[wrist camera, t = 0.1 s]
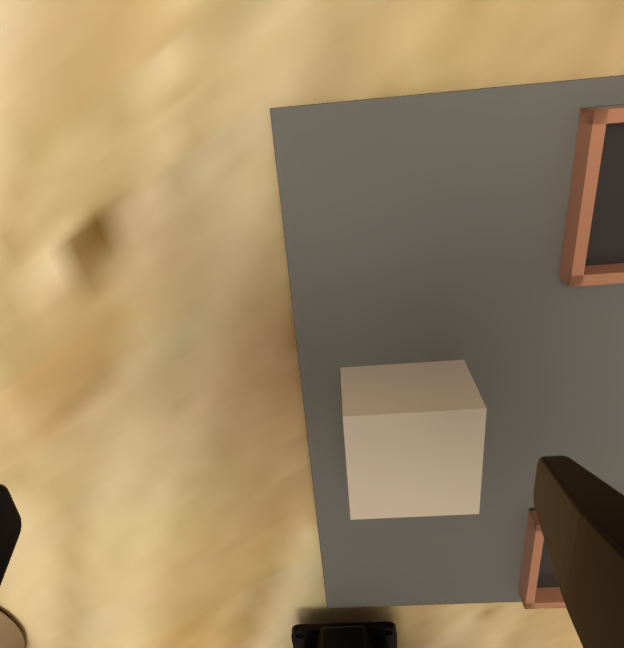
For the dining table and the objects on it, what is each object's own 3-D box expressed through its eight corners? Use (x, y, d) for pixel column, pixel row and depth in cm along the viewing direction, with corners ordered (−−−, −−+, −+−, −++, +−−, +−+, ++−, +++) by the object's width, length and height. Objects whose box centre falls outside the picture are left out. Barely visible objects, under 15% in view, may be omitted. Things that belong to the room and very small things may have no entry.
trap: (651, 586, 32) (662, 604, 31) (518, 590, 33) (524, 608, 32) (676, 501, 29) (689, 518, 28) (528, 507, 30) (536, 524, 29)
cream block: (459, 456, 28) (479, 514, 25) (347, 462, 29) (350, 519, 25) (464, 359, 25) (486, 408, 22) (340, 367, 26) (342, 416, 22)
